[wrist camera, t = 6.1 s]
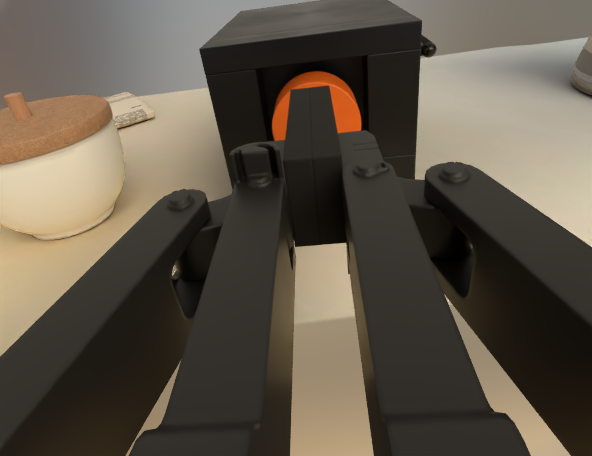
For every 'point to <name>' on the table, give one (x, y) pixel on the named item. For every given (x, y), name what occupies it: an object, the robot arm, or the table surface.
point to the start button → (341, 100)
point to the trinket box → (58, 165)
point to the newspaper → (128, 109)
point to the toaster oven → (320, 69)
